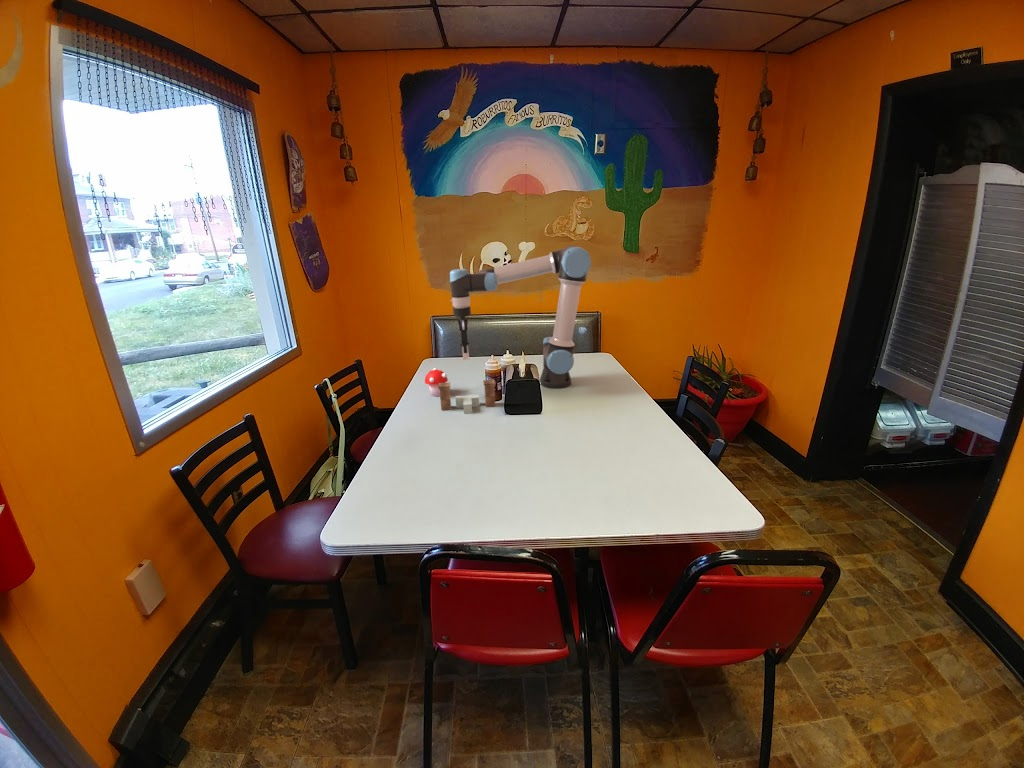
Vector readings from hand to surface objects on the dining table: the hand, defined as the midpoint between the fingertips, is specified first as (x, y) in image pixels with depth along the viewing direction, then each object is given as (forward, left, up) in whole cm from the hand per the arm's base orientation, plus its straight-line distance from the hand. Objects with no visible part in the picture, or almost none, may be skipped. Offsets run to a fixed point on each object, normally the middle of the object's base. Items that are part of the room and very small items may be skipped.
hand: (466, 359), depth 198 cm
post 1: (+10, +13, -18) cm, 24 cm away
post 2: (-9, +13, -18) cm, 24 cm away
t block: (+1, +14, -18) cm, 23 cm away
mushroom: (+14, -5, -18) cm, 24 cm away
